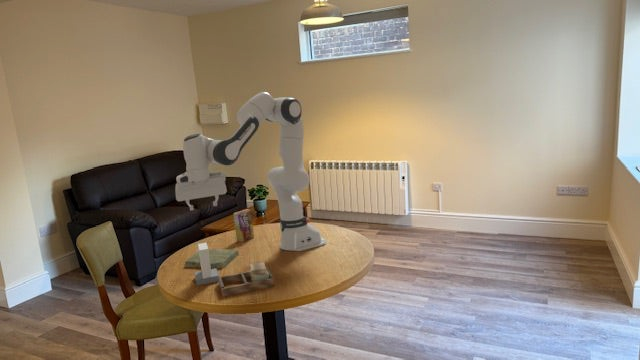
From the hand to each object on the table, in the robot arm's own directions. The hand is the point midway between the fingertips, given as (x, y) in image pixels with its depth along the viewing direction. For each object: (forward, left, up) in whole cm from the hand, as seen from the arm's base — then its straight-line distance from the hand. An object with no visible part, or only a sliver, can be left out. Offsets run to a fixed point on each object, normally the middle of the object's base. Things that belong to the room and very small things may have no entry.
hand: (203, 208), depth 186 cm
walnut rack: (-12, +16, -30) cm, 36 cm away
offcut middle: (-17, +15, -28) cm, 36 cm away
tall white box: (+2, +2, -28) cm, 28 cm away
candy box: (-22, -45, -30) cm, 59 cm away
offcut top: (-17, +16, -26) cm, 34 cm away
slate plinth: (+2, +2, -30) cm, 30 cm away
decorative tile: (-2, -20, -31) cm, 37 cm away
